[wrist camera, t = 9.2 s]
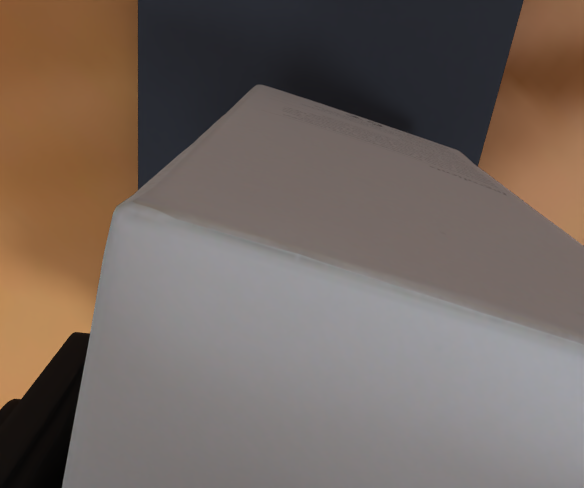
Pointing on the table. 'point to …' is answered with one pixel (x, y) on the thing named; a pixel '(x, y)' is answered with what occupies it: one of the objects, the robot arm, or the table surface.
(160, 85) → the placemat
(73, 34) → the table surface
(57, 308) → the table surface
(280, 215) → the cosmetics box
